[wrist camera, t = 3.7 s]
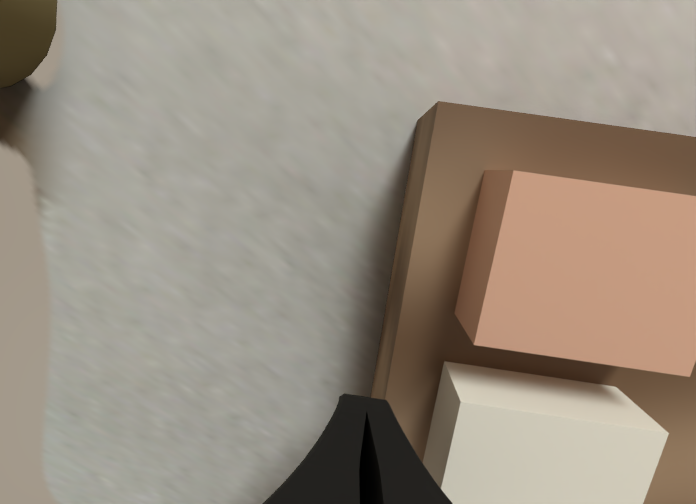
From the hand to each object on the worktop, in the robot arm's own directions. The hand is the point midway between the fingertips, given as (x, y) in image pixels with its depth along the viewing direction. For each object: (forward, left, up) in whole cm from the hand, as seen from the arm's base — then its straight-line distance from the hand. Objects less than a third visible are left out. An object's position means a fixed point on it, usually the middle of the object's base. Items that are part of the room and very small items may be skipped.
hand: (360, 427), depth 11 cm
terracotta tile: (+6, -5, -1) cm, 7 cm away
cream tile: (0, -5, -1) cm, 5 cm away
